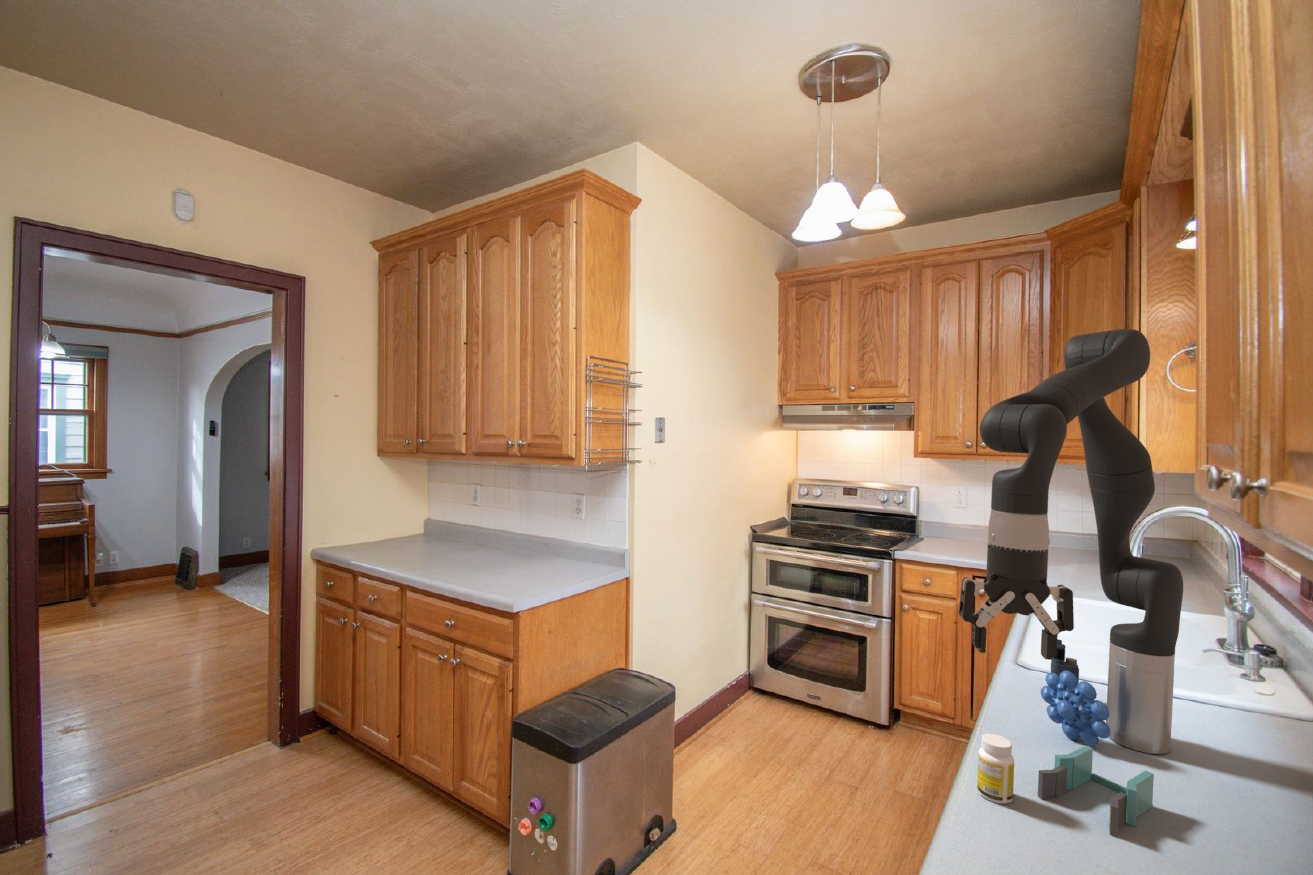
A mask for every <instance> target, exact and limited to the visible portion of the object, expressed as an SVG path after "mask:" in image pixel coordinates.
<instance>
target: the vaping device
mask: <svg viewBox="0 0 1313 875" xmlns="http://www.w3.org/2000/svg"><path fill="white" fill-rule="evenodd" d="M1062 671H1069V672H1071V673H1073V674H1074V675H1075V676H1076V677H1077V680H1078V683H1079V682H1080V681H1079V680H1080V668H1079V664H1078V660H1077V659H1076V658H1073V657H1066V645H1065V644H1064V643H1063V641H1062V639H1058V638H1057V653H1056V655H1055V656H1052V660H1050V673H1055V674H1057V675H1058V676H1059V677H1060V673H1061V672H1062Z"/></svg>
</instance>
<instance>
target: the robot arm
mask: <svg viewBox="0 0 1313 875" xmlns="http://www.w3.org/2000/svg"><path fill="white" fill-rule="evenodd" d="M1150 363H1151V348H1150V344H1149V340H1148V339H1147V337H1146V336H1145V334H1143V333H1142V331H1139V330H1137V329H1133V328H1118V329H1113V330H1106V331H1098V332H1090V333H1085V334H1079V335H1078V334H1077V335H1074V336H1072V337H1070V338H1069V339H1068V340H1067V342H1066V343H1065V346H1064V352H1063V364H1064V370H1061V371H1059V372H1057V373H1054V374H1053V375H1050V376H1048V377H1047V378H1045V379H1044V380H1042V381H1041V382H1040V383H1038V384H1037V385H1036V386H1035V387H1033V388H1032V389H1030V390H1029V391H1026V392H1024V393H1020V394H1017V395H1014V396H1012V397H1008V398H1006V399H1004V400H1001V401H999V402H997V403H995V404H994V405H992V406H991V407H990V408H989V409H987V411H986V412H985V413H984V415H983V417H982V419H981V421H980V425H979V434H980V439H981V441H982V442H983V443H984V445H986V447H987V448H989V449H990V450H992V451H994V452H999V453H1008V454H1009V453H1011V454H1028V455H1027V457H1026V459H1025V461H1024V463H1023V464H1022V465H1021V466H1020V467H1017V468H1015V467H1014V468H1009V469H1008V468H1007V469H1001V470H998V471H996V472H995V473H994V474H993V476H992V481H991V500H990V501H991V502H990V516H989V520H988V526H987V527H988V530H987V548H986V549H987V552H986V554H987V555H986V557H987V558H986V575H985V578H984V579H983V581H982V580H976V579H972V578H969V577H968V576H967V577H965V576H964V577H963V578H962V580H961V586H960V587H961V588H960V595H959V606H958V615H959V616H960V617H961V618H962V620H963V621H964V622H967V623H969V624H970V623H971V625H972V633H971V642H972V645H973V646H974V648H975V649H976V650H977V651H978V653H981V654H985V653H986V651H987V646H986V645H987V629H988V628H986V625H987V624H988V623H989V622H990V621H991V620H992V619H993V618H996V617H997V615H998V614H1000V612H1002V613H1004V614H1006V615H1008V614H1009V615H1013V614H1019V615H1022V616H1030V615H1031V614H1033V615H1034V616H1035V617H1036V619H1037V620H1038V621H1039V623H1040V624H1041V625H1042V627H1043V629H1041V636H1040V637H1041V639H1040V655H1041V656H1042V657H1043V659H1044V660H1047V661H1048V660H1049V661H1051V660H1052V656H1055V655H1056V653H1057V639H1058V636H1059V634H1060V633H1062V632H1072V631H1073V630H1074V628H1075V622H1074V620H1075V619H1074V618H1075V617H1074V592H1073V590H1072V589H1070V588H1069V587H1067V586H1065V585H1064V584H1058V585H1057V586H1049V585H1048V583H1047V580H1048V571H1049V570H1048V565H1049V547H1050V546H1049V545H1050V542H1051V540H1050V528H1049V519H1048V513H1049V511H1048V510H1049V492H1050V491H1049V490H1050V483H1051V480H1052V475H1053V473H1054V469H1055V466H1056V463H1057V461H1058V459H1059V456H1060V453H1061V451H1062V448H1063V445H1064V443H1065V440H1066V436H1067V431H1068V428H1067V427H1068V426H1067V425H1069V424H1070V423H1071V422H1072V421H1073V420H1075V418H1076V417H1077V419H1078V423H1079V428H1080V434H1081V440H1082V445H1083V452H1084V460H1085V467H1086V468H1085V469H1086V474H1087V479H1088V480H1087V481H1088V485H1089V489H1090V490H1089V491H1090V495H1091V500H1092V504H1093V510H1094V516H1095V517H1094V518H1095V523H1096V530H1097V531H1096V532H1097V545H1098V561H1099V562H1098V563H1099V574H1100V575H1099V576H1100V583H1101V587H1102V591H1103V593H1104V595H1105V596H1106V598H1107V599H1108V600H1109V601H1110V602H1112V603H1115V604H1119V605H1121V606H1126V607H1130V608H1132V609H1137V610H1142V611H1145V613H1144V617H1143V621H1141V622H1136V623H1135V622H1134V623H1132V622H1131V623H1119V624H1115V625H1112V626H1111V628H1110V631H1109V632H1110V633H1109V645H1108V646H1109V647H1108V652H1109V653H1108V672H1107V694H1106V695H1107V696H1106V706H1107V708H1108V710H1109V713H1110V715H1109V718H1108V719H1107V720H1105V723H1106V724H1107V725H1108V726H1109V728H1110V732H1111V733H1110V736H1109V737H1108V738H1109V739H1110V740H1112V741H1113V742H1115V743H1117V744H1119V745H1121V746H1124V747H1125V748H1129V749H1131V750H1134V751H1138V752H1142V753H1146V754H1152V755H1154V754H1155V755H1164V754H1165V755H1166V754H1168V753H1170V751H1171V744H1172V743H1171V742H1172V741H1171V740H1172V723H1173V722H1172V720H1173V705H1174V704H1173V700H1174V682H1175V660H1176V658H1175V657H1176V645H1177V642H1178V638H1179V632H1180V622H1181V621H1180V619H1181V613H1182V605H1183V597H1184V579H1183V578H1184V577H1183V575H1182V572H1181V570H1180V569H1179V567H1177V565H1175V564H1173V563H1169V562H1167V561H1166V562H1165V561H1161V560H1158V559H1157V560H1156V559H1151V558H1145V557H1139V556H1134V555H1133V554H1132V550H1131V546H1130V544H1131V543H1130V537H1131V533H1132V529H1133V528H1134V526H1135V524H1136V523H1137V521H1138V520H1139V518H1140V517H1141V516H1142V515H1143V513H1144V512H1145V511H1146V510H1147V508H1148V506H1149V504H1150V502H1151V501H1152V499H1153V497H1154V496H1155V495H1154V494H1155V492H1156V491H1155V490H1156V486H1155V476H1154V472H1153V465H1152V464H1153V463H1152V460H1151V454H1150V452H1149V451H1148V449H1147V448H1146V446H1145V445H1144V444H1143V443H1142V442H1141V441H1140V440H1139V438H1138V437H1137V436H1136V435H1134V433H1133V432H1132V431H1131V430H1130V429H1128V427H1127V426H1125V424H1123V422H1121V421H1120V420H1119V418H1117V416H1116V415H1115V414H1114V413H1113V412H1112V410H1111V408H1110V407H1109V405H1108V404H1107V402H1106V399H1105V398H1106V396H1108V395H1111V394H1112V393H1115V392H1116V391H1118V390H1121V389H1122V388H1124V387H1127V386H1129V385H1132V384H1134V383H1136V382H1137V381H1139V380H1140V379H1142V378H1143V377H1144V376H1145V374H1146V373H1147V371H1148V369H1149V367H1150ZM982 590H983V591H984V592H985V594H986V595H987V598H985V600H984V601H982V603H981V604H980V606H979V608H978V609H977V610H976V611H975V613H974V612H973V610H974V603H975V602H974V601H975V596H977V595H979V594H980V591H982ZM1050 595H1051V596H1052V599H1053V601H1055V602H1056V619H1055V620H1053V619H1052V617H1051V616H1050V614H1049V613H1048V612H1047V610H1046V609H1045V608H1044V607H1043V605H1042V604H1043V603H1044V602H1045V601H1046V600H1047V599H1048V598H1049V597H1050Z"/></svg>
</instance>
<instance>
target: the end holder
mask: <svg viewBox="0 0 1313 875" xmlns="http://www.w3.org/2000/svg"><path fill="white" fill-rule="evenodd" d="M1093 753H1094V748H1093V747H1092V746H1089V745H1084V746H1081V747H1079V748H1078V749H1075V750H1074V751H1071V752H1069V753H1067V754H1066V753H1065V754H1055V755H1054V768H1056V767H1058V766H1060V765H1063V766H1065V767H1067V782H1066V791H1070V790H1072V791H1073V790H1074V789H1076V788H1078V787H1080V786H1082V785H1083V784H1086V783H1087V782H1089V781H1091V780H1093V781H1095V782H1097V783H1099V784H1101V785H1103V786H1105V787H1108V788H1109V789H1112V790H1114V791H1117V792H1118V793H1120V792H1122V793H1124V794H1126V795H1127V811H1126V823H1125V824H1126V825H1129V826H1132V827H1136V823H1137V822H1136V821H1137V820H1136V819H1137V818H1138V817H1139V816H1141V815H1143V814H1144V813H1146V812H1147V811H1149V810H1151V809H1152V808H1153V800H1154V775H1155V774H1154V773H1152V772H1151V771H1148V770H1144V771H1142V772H1141V773H1139V774H1136V775H1135V776H1134V777H1132V778H1131V779H1129V780H1128V781H1126V787H1124V786H1122V785H1121V784H1118V783H1116V782H1115V781H1112V780H1110V779H1108V778H1105V777H1103V776H1100V775H1098V774H1096V773H1093V756H1094V754H1093Z"/></svg>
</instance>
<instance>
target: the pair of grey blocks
mask: <svg viewBox="0 0 1313 875" xmlns="http://www.w3.org/2000/svg"><path fill="white" fill-rule="evenodd" d="M1066 782H1067V767H1065V766H1063V765H1060V766H1058V767H1056V768H1055V767H1054V768H1052V769H1043V770H1042V769H1041V770H1040V769H1039V770H1038V782H1037V797H1038V798H1039V799H1040V800H1041V801H1042V800H1043V801H1044V800H1055V799H1058V798H1060V797H1062V796H1064V795H1065V794H1067V790H1066ZM1109 803H1110V804H1109V806H1110V807H1109V823H1108V829H1109V835H1110V836H1111V837H1114V838H1115V837H1116V838H1118V829H1119V828H1120V827H1122V826H1123V825H1125V824H1126V811H1127V795H1126V794H1124V793H1122V792H1118V793H1117V794H1115V795H1113V796H1112V797H1110V802H1109Z"/></svg>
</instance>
